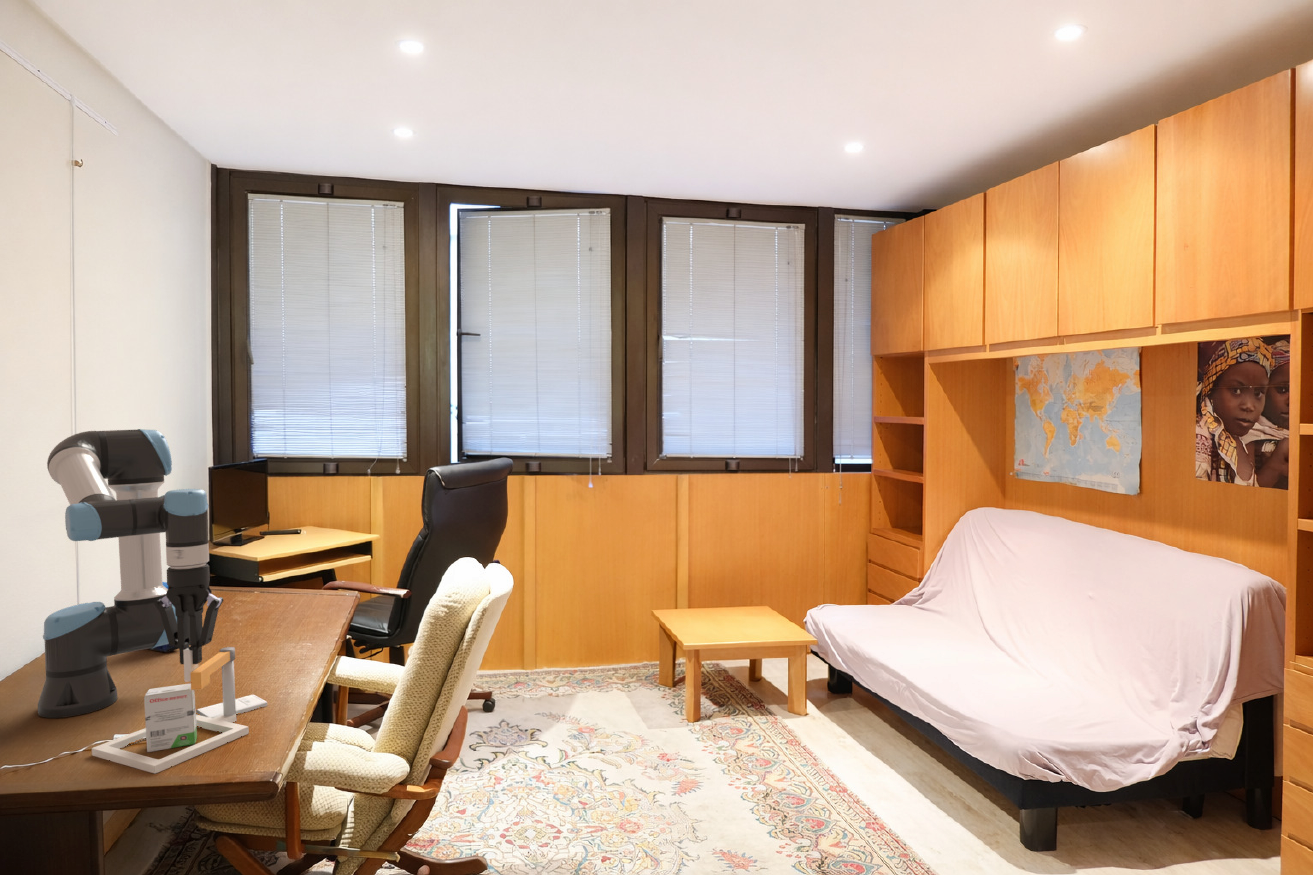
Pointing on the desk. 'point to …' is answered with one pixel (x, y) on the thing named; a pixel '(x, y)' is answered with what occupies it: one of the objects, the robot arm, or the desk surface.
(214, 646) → the desk surface
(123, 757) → the socket frame
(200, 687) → the orange bar
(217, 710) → the external hard drive
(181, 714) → the ink box
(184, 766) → the desk surface
